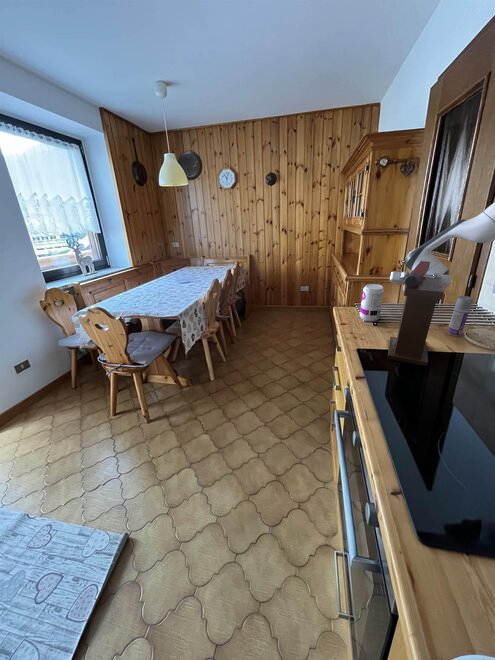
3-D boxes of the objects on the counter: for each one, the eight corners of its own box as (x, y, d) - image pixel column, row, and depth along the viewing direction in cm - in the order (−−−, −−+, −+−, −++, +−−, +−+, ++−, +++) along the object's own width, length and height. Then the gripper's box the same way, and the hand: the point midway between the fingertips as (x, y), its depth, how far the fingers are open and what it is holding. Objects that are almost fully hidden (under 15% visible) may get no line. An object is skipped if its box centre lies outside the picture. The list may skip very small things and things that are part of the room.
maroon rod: (418, 268, 103) (420, 259, 101) (429, 270, 101) (431, 260, 99) (403, 286, 88) (406, 275, 86) (416, 288, 86) (419, 276, 84)
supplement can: (358, 320, 126) (362, 288, 119) (361, 313, 132) (365, 282, 125) (377, 323, 122) (383, 290, 116) (379, 315, 129) (385, 284, 122)
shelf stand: (389, 340, 110) (402, 275, 98) (425, 346, 104) (444, 278, 92) (387, 358, 99) (401, 288, 87) (426, 366, 94) (448, 292, 81)
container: (457, 330, 113) (468, 295, 106) (463, 336, 109) (476, 300, 102) (444, 330, 113) (455, 295, 106) (450, 336, 109) (462, 300, 102)
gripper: (390, 273, 120) (391, 264, 108) (447, 277, 112) (455, 267, 99) (387, 287, 121) (388, 280, 108) (444, 292, 112) (452, 285, 99)
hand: (421, 274), depth 104 cm, fingers open, 8 cm apart
